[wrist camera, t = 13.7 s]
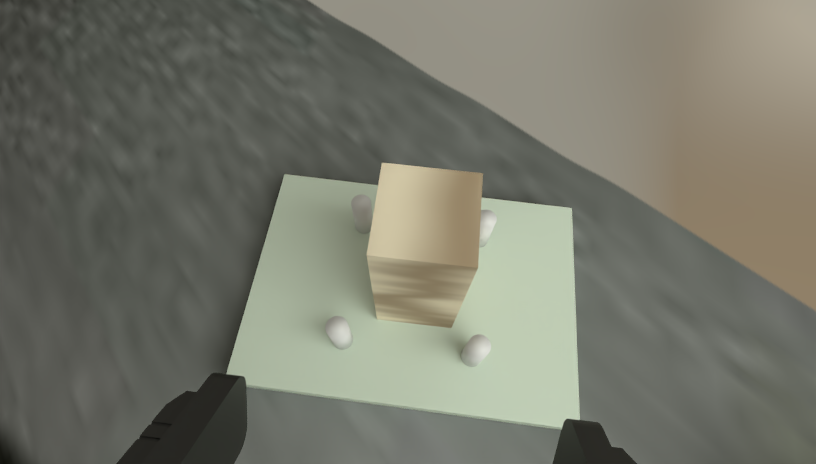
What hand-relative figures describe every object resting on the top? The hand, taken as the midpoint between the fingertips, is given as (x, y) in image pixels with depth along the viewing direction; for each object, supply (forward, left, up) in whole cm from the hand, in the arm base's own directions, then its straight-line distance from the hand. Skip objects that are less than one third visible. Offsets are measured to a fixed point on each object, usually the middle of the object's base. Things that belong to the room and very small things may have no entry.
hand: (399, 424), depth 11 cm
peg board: (-3, +8, -16) cm, 18 cm away
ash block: (-3, +8, -14) cm, 17 cm away
